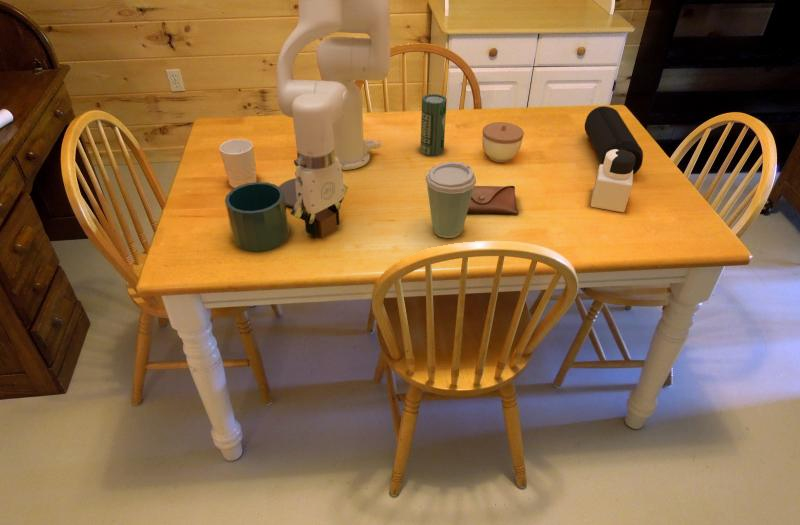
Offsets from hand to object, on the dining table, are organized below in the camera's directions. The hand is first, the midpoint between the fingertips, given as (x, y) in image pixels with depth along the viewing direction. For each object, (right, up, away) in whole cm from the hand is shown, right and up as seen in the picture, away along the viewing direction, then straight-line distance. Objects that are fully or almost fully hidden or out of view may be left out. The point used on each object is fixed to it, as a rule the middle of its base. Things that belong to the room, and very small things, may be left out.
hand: (323, 227), depth 125 cm
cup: (-13, -2, -1) cm, 14 cm away
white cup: (-22, +12, +16) cm, 30 cm away
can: (+26, +23, +30) cm, 46 cm away
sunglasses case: (+36, +6, +9) cm, 38 cm away
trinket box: (+44, +21, +27) cm, 56 cm away
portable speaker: (+74, +21, +28) cm, 82 cm away
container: (+68, +7, +10) cm, 69 cm away
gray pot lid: (-6, +9, +11) cm, 16 cm away
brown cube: (0, 0, 0) cm, 1 cm away
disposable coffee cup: (+28, 0, +1) cm, 28 cm away
